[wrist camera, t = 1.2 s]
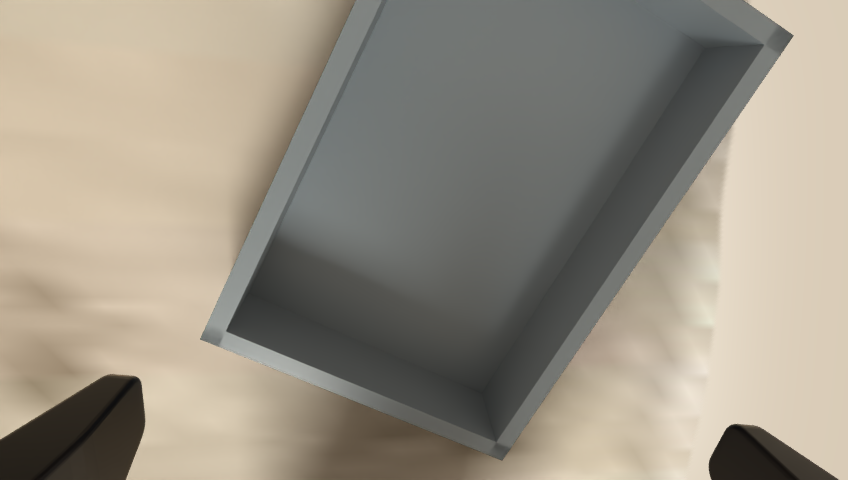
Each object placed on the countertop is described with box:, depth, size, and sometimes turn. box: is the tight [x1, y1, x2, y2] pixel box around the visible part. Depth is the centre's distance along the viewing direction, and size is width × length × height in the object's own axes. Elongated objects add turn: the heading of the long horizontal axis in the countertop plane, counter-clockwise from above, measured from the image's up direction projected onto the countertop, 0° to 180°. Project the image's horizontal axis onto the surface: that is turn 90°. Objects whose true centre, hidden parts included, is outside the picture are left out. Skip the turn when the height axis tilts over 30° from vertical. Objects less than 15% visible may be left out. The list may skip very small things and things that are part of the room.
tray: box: [200, 0, 793, 460], centre depth 17 cm, size 16×11×4 cm
